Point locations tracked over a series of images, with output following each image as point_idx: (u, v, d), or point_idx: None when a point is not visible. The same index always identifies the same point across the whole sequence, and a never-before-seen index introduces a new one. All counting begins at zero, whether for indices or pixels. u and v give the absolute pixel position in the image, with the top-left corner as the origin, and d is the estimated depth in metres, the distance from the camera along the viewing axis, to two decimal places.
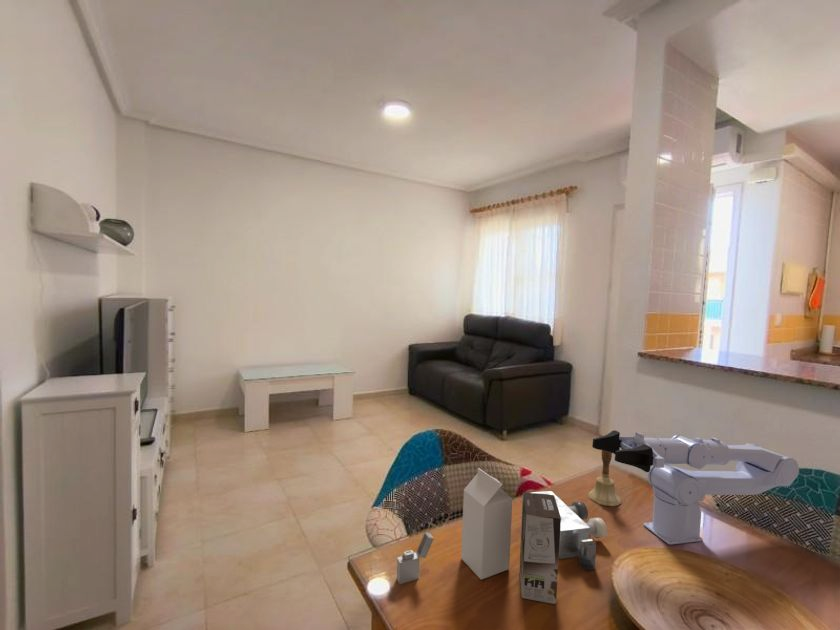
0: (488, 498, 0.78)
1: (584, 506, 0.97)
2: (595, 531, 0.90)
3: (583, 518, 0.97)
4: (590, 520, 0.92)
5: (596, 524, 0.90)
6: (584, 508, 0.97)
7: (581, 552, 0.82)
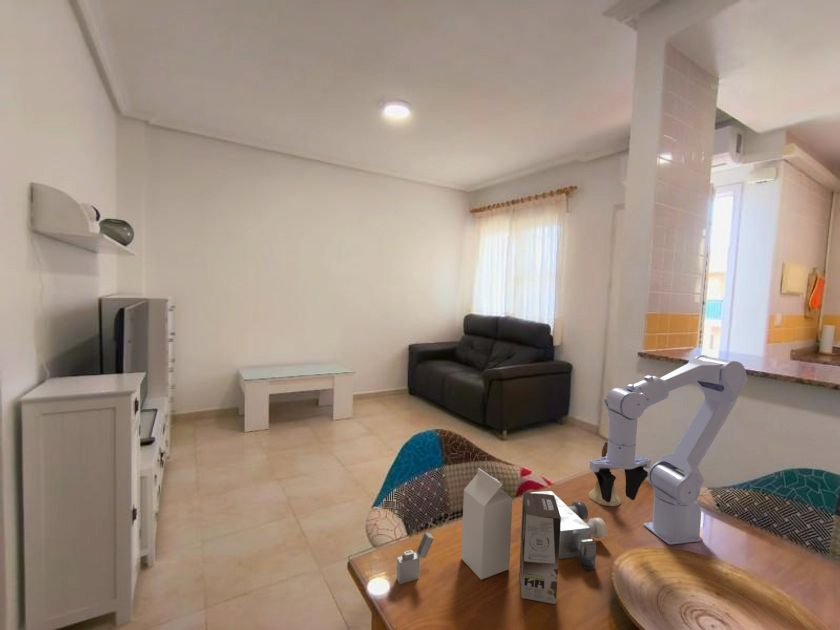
0: (488, 498, 0.78)
1: (584, 506, 0.97)
2: (595, 531, 0.90)
3: (583, 518, 0.97)
4: (590, 520, 0.92)
5: (596, 524, 0.90)
6: (584, 508, 0.97)
7: (581, 552, 0.82)
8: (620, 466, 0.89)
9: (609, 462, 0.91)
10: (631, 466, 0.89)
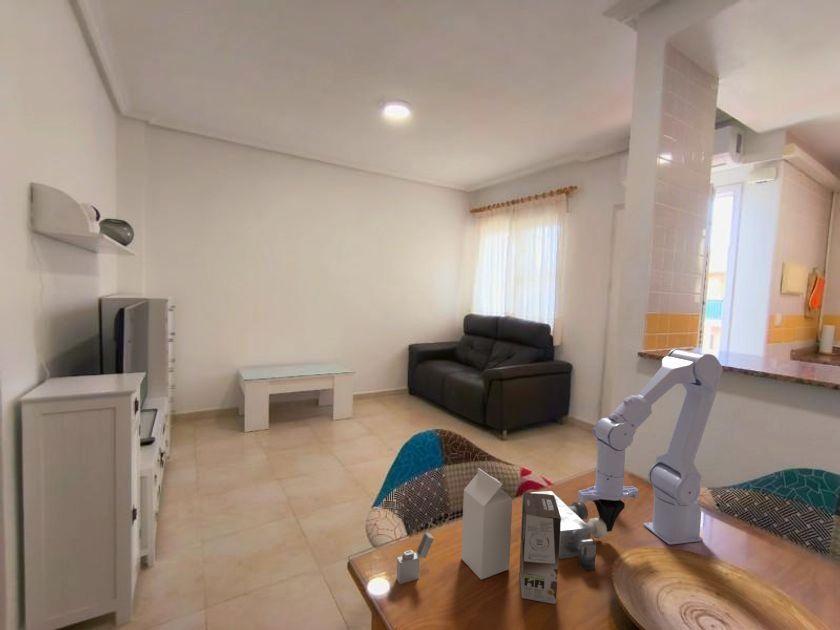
0: (488, 498, 0.78)
1: (584, 506, 0.97)
2: (595, 531, 0.90)
3: (583, 518, 0.97)
4: (590, 520, 0.92)
5: (596, 524, 0.90)
6: (584, 508, 0.97)
7: (581, 552, 0.82)
8: (608, 497, 0.89)
9: (597, 492, 0.90)
10: (619, 497, 0.89)
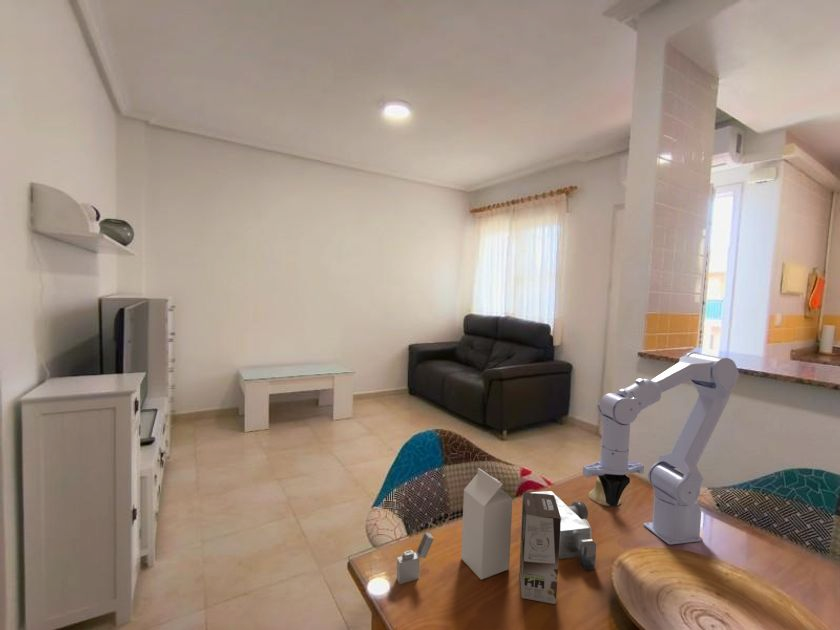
0: (488, 498, 0.78)
1: (584, 506, 0.97)
2: None
3: (583, 518, 0.97)
4: None
5: None
6: (584, 508, 0.97)
7: (581, 552, 0.82)
8: (613, 472, 0.88)
9: (602, 468, 0.90)
10: (624, 472, 0.88)
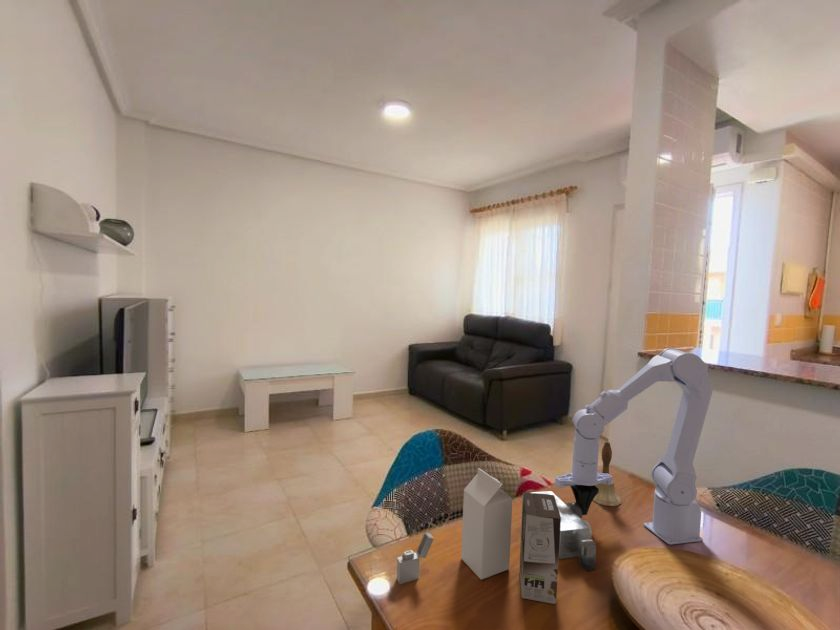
0: (488, 498, 0.78)
1: (578, 506, 0.97)
2: None
3: None
4: None
5: None
6: (578, 509, 0.97)
7: (581, 552, 0.82)
8: (583, 483, 0.95)
9: (573, 479, 0.97)
10: (593, 483, 0.95)
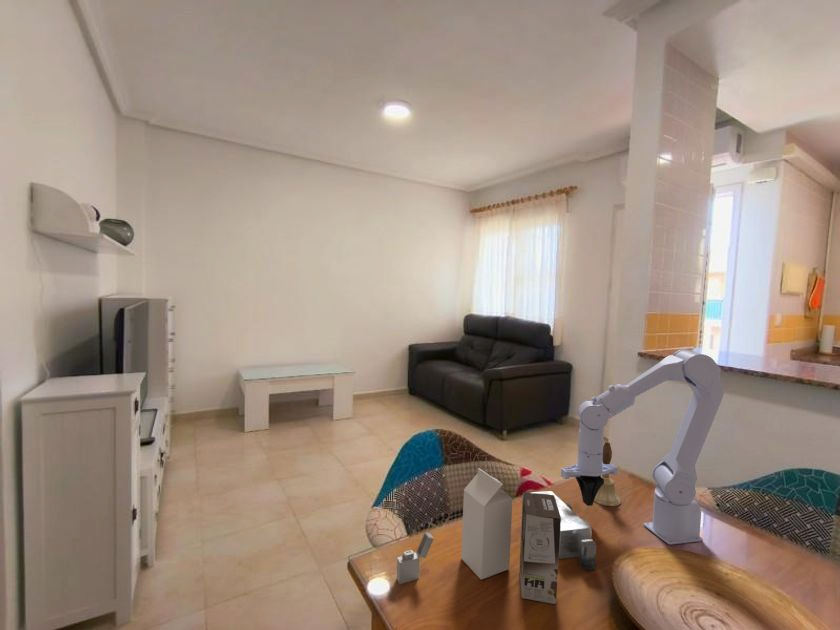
0: (488, 498, 0.78)
1: (569, 507, 0.96)
2: None
3: None
4: None
5: None
6: None
7: (581, 552, 0.82)
8: (588, 473, 0.96)
9: (578, 470, 0.98)
10: (598, 473, 0.96)
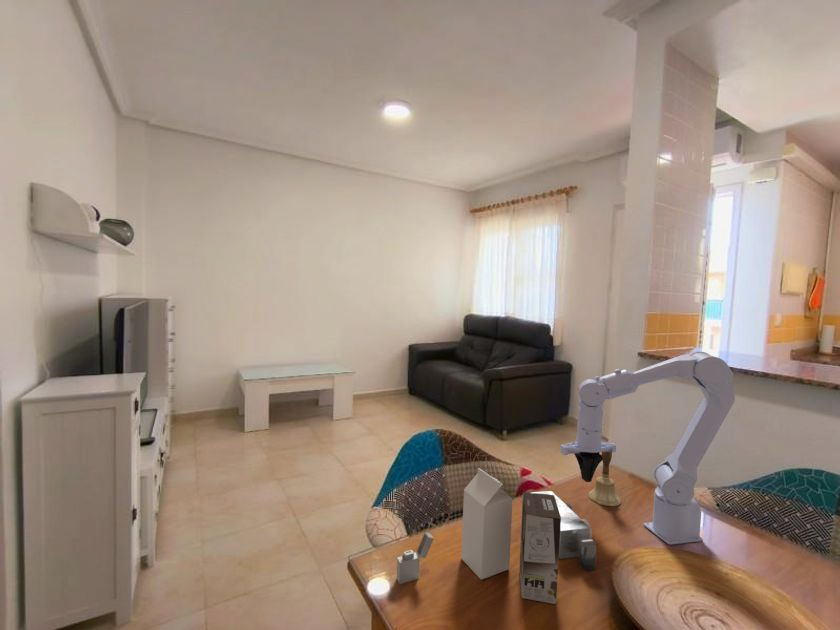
0: (488, 498, 0.78)
1: (569, 507, 0.96)
2: None
3: None
4: None
5: None
6: None
7: (581, 552, 0.82)
8: (587, 450, 0.98)
9: (578, 446, 0.99)
10: (597, 450, 0.98)
